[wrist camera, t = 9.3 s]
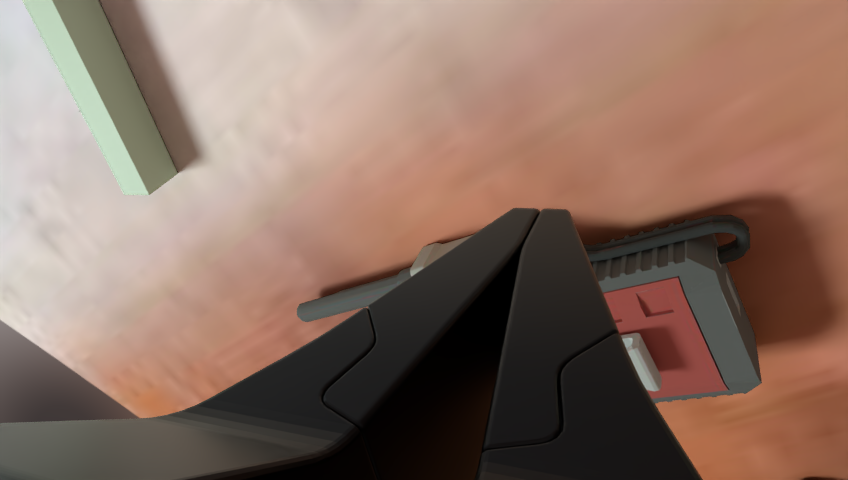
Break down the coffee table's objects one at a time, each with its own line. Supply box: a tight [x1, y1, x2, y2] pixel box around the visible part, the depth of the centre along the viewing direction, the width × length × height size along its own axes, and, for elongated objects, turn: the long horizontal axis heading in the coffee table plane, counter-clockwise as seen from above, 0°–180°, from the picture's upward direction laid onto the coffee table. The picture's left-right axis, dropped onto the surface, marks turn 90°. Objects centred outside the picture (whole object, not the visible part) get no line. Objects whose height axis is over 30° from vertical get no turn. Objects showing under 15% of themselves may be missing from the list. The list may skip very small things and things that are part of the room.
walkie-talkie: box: [297, 215, 762, 403], centre depth 25 cm, size 9×4×20 cm
